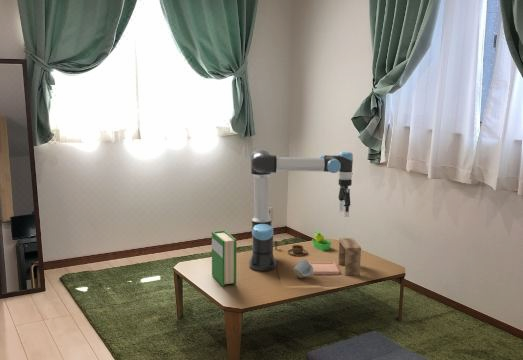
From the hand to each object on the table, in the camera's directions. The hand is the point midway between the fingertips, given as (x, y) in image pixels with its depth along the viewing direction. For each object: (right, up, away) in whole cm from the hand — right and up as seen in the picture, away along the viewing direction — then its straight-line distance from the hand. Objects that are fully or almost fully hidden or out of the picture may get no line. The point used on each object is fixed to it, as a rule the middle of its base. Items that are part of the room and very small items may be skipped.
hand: (343, 214), depth 303 cm
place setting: (-29, -25, +16) cm, 41 cm away
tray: (-15, -30, -15) cm, 37 cm away
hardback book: (-68, -32, -32) cm, 82 cm away
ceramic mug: (-26, -33, -29) cm, 50 cm away
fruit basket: (-11, -24, +22) cm, 34 cm away
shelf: (+1, -30, -14) cm, 33 cm away
